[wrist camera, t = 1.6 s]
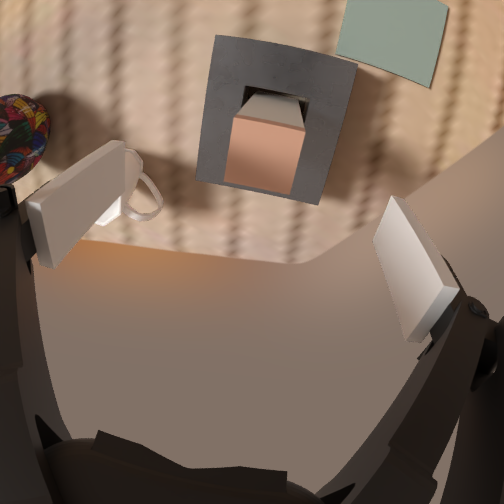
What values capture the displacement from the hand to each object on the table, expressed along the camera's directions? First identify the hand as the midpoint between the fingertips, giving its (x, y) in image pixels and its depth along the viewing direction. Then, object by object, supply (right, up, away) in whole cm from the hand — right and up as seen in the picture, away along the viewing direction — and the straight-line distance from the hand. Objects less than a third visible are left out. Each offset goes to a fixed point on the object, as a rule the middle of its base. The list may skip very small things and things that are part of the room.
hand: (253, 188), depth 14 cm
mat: (+13, +19, +7) cm, 24 cm away
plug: (+2, +11, +14) cm, 18 cm away
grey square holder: (+2, +11, +14) cm, 18 cm away
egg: (-28, +14, +16) cm, 35 cm away
